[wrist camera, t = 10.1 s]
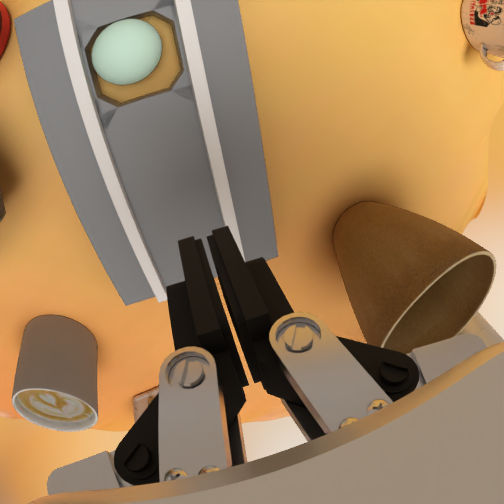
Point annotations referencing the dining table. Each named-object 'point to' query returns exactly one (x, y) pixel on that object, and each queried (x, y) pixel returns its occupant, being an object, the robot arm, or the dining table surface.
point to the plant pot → (409, 275)
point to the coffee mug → (57, 375)
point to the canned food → (4, 28)
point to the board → (152, 138)
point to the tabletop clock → (1, 207)
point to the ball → (126, 51)
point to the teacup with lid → (485, 28)
